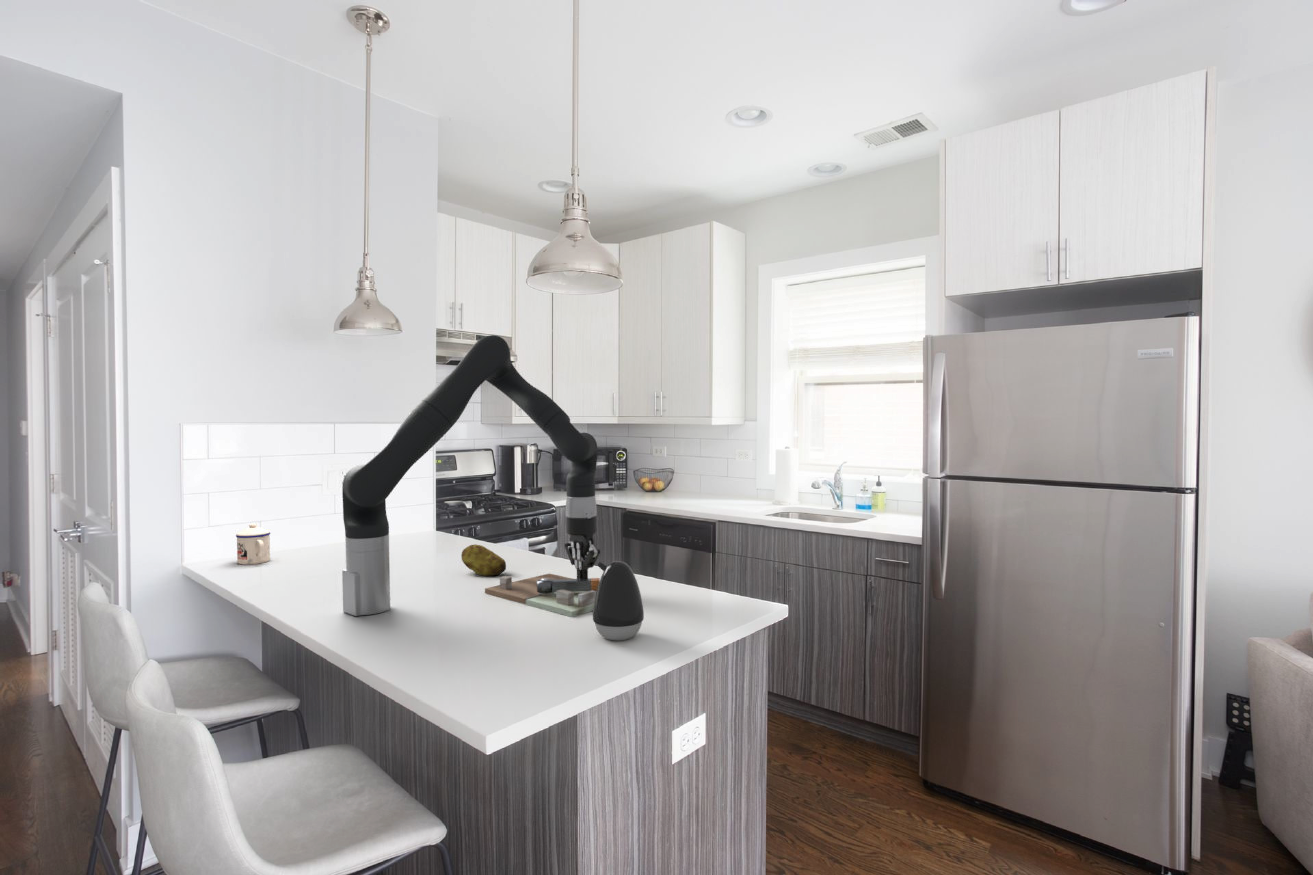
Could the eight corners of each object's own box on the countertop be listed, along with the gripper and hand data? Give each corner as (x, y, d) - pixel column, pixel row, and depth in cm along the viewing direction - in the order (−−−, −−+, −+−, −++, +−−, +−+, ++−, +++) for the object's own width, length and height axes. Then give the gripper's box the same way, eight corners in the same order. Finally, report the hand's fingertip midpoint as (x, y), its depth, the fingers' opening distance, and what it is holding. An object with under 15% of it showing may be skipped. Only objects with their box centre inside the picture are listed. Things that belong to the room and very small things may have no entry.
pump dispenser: (616, 625, 146) (615, 553, 145) (654, 635, 139) (653, 560, 138) (581, 637, 138) (580, 562, 137) (620, 648, 131) (619, 569, 131)
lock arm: (537, 589, 168) (537, 577, 168) (599, 587, 169) (599, 575, 169) (536, 593, 164) (535, 581, 164) (599, 591, 165) (599, 579, 165)
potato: (485, 580, 186) (485, 550, 186) (456, 573, 194) (456, 545, 194) (509, 574, 193) (509, 546, 192) (480, 568, 201) (480, 541, 200)
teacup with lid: (232, 562, 211) (231, 524, 211) (264, 557, 218) (263, 520, 217) (245, 567, 203) (244, 528, 203) (279, 562, 210) (278, 524, 209)
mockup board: (571, 617, 152) (571, 599, 151) (484, 593, 172) (484, 577, 172) (636, 597, 168) (635, 581, 167) (549, 577, 188) (549, 563, 188)
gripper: (554, 512, 172) (555, 581, 173) (583, 519, 162) (584, 591, 163) (579, 509, 177) (580, 576, 178) (609, 515, 167) (610, 586, 167)
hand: (582, 583), depth 170 cm, fingers closed
